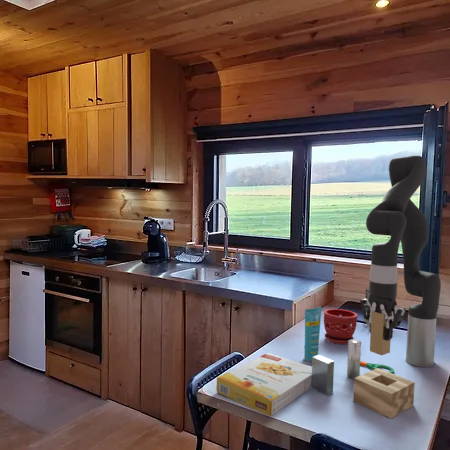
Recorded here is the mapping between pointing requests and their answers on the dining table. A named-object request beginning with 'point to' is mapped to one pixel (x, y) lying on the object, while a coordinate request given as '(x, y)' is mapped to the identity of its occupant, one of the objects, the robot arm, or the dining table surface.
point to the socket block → (384, 392)
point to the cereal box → (266, 383)
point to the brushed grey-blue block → (322, 374)
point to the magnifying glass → (376, 366)
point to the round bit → (353, 359)
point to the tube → (312, 332)
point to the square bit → (378, 334)
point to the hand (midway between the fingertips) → (380, 337)
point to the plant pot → (339, 325)
